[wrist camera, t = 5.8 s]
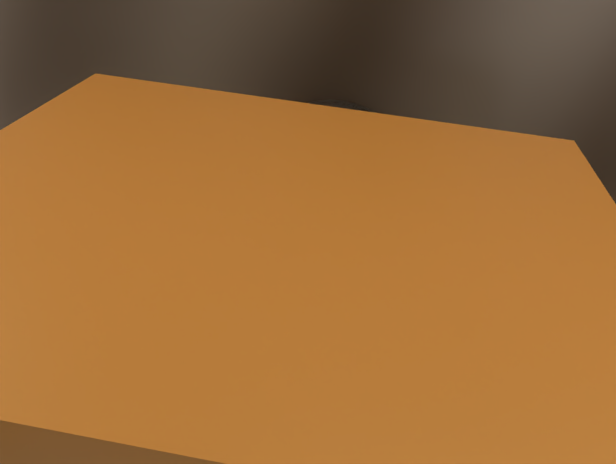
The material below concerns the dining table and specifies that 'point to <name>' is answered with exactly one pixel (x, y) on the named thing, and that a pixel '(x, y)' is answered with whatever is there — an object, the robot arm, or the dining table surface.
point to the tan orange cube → (298, 286)
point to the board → (339, 57)
